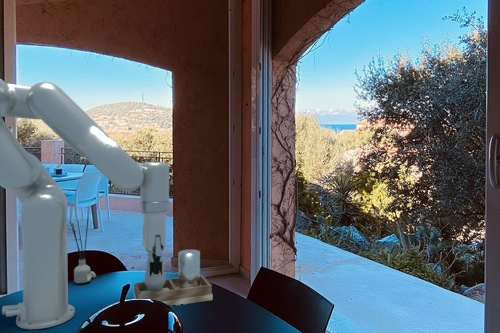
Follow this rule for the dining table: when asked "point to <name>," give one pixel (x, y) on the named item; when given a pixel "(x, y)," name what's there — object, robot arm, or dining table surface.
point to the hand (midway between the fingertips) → (154, 273)
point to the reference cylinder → (188, 268)
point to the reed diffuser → (82, 263)
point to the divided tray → (175, 292)
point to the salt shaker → (154, 277)
